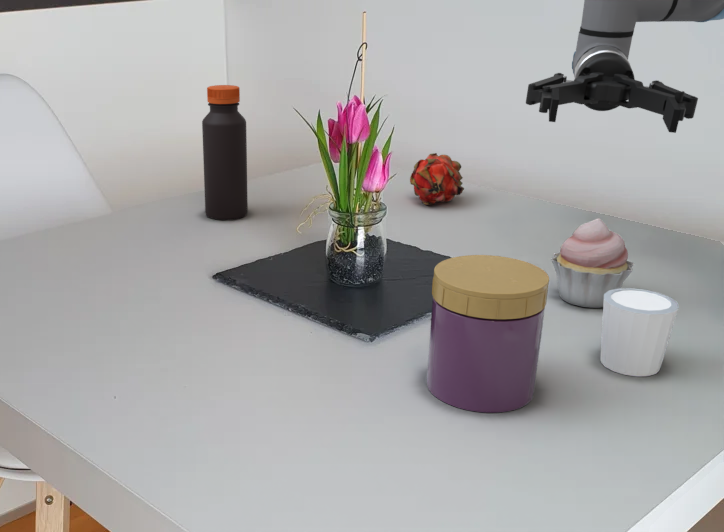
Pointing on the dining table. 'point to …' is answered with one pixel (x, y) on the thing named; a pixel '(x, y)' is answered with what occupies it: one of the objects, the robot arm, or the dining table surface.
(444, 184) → the dragon fruit
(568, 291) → the cupcake
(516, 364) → the jar
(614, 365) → the shot glass
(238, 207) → the bottle
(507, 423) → the dining table surface
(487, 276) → the jar lid
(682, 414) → the dining table surface
